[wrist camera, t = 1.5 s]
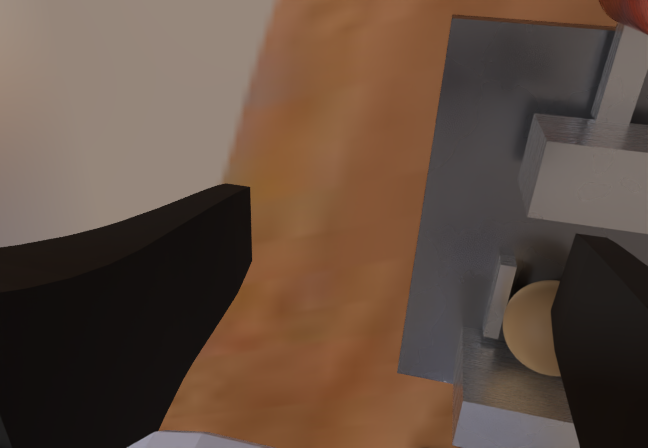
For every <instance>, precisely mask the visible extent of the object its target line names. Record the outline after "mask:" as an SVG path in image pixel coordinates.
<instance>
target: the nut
mask: <svg viewBox="0 0 648 448" xmlns="http://www.w3.org/2000/svg"><path fill="white" fill-rule="evenodd" d="M559 283H560V281H556V280H544V281H538V282H534V283H531V284H529V285H527V286H525V287H523V288H522V289H520V290H519V291H518V292H517V293H516V294H515V295H514V296H513V297H512V298H511V299H510V301H509V303H508V305H507V306H506V309H505V312H504V316H503V333H504V337H505V340H506V343H507V345H508V347H509V349H510V350H511V352H512V353H513V354H514V356H515V357H516V358H517V359H518V360H519V361H520V362H521V363H522V364H524V365H525V366H526V367H528V368H530V369H531V370H533V371H536V372H538V373H541V374H544V375H550V376H561V374H560V371H559V367H558V363H557V359H556V355H555V351H554V342H553V334H552V323H551V308H552V305H553V301H554V298H555V295H556V292H557V289H558V286H559Z"/></svg>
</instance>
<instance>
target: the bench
mask: <svg viewBox="0 0 648 448" xmlns="http://www.w3.org/2000/svg"><path fill="white" fill-rule="evenodd" d="M615 30H616V27H610V26H597V25H583V24H570V23H557V22H544V21H531V20H517V19H504V18H491V17H478V16H464V15H452V21H451V28H450V34H449V41H448V47H447V54H446V60H445V67H444V73H443V80H442V86H441V93H440V99H439V105H438V112H437V118H436V125H435V131H434V138H433V144H432V151H431V157H430V164H429V170H428V177H427V183H426V189H425V196H424V202H423V209H422V215H421V222H420V228H419V235H418V241H417V248H416V254H415V261H414V267H413V273H412V280H411V286H410V293H409V299H408V306H407V312H406V319H405V325H404V332H403V338H402V345H401V351H400V358H399V364H398V371H397V373H401V374H406V375H411V376H416V377H421V378H426V379H431V380H436V381H441V382H446V383H451V384H453V433H452V445H454V446H458V447H463V448H580V447H579V442H578V438H577V435H576V431H575V427H574V423H573V420H572V416H571V412H570V408H569V405H568V401H567V397H566V393H565V390H564V386H563V382H562V378H561V376H550V375H544V374H541V373H538V372H536V371H533V370H531V369H530V368H528V367H526V366H525V365H524V364H522V363H521V362H520V361H519V360H518V359H517V358H516V357H515V356H514V354H513V353H512V352H511V350H510V349H509V347H508V345H507V343H506V340H505V337H504V333H503V316H504V312H505V309H506V306H507V305H508V303H509V301H510V299H511V298H512V297H513V296H514V295H515V294H516V293H517V292H518V291H519V290H520V289H522V288H523V287H525V286H527V285H529V284H531V283H534V282H538V281H544V280H556V281H560V280H561V277H562V274H563V271H564V268H565V265H566V262H567V259H568V256H569V253H570V250H571V247H572V244H573V240H574V237H575V234H576V233H578V234H585V235H592V236H599V237H606V238H609V239H610V240H612V241H614V242H615V243H617V244H618V245H620V246H621V247H623V248H624V249H626V250H627V251H628V252H630V253H631V254H632V255H634V256H635V257H636V258H638V259H639V260H640V261H642V262H643V263H644V264H646V265H647V266H648V234H644V233H636V232H629V231H622V230H615V229H608V228H601V227H594V226H587V225H579V224H572V223H565V222H558V221H551V220H544V219H537V218H530V217H527V214H526V210H525V206H524V202H523V198H522V195H521V191H520V187H519V183H518V177H519V172H520V168H521V164H522V160H523V156H524V152H525V148H526V144H527V140H528V136H529V132H530V127H531V123H532V119H533V115H534V113H538V114H548V115H557V116H567V117H576V118H586V119H594V117H593V116H592V115H591V111H592V107H593V104H594V100H595V97H596V94H597V90H598V87H599V84H600V80H601V77H602V74H603V70H604V67H605V63H606V60H607V57H608V53H609V50H610V47H611V43H612V40H613V37H614V33H615ZM630 123H633V124H642V125H648V70H647V73H646V76H645V79H644V82H643V85H642V88H641V91H640V94H639V97H638V100H637V103H636V106H635V109H634V112H633V115H632V118H631V121H630Z"/></svg>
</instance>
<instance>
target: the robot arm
mask: <svg viewBox="0 0 648 448" xmlns="http://www.w3.org/2000/svg"><path fill="white" fill-rule="evenodd" d="M251 262H252V241H251V204H250V187H247V186H240V185H233V184H221V185H217V186H214V187H211V188H208V189H206V190H203V191H200V192H198V193H195V194H193V195H190V196H188V197H185V198H183V199H180V200H178V201H175V202H173V203H170V204H168V205H165V206H162V207H160V208H157V209H155V210H152V211H149V212H146V213H143V214H140V215H137V216H135V217H132V218H129V219H126V220H123V221H120V222H117V223H114V224H111V225H108V226H104V227H100V228H97V229H93V230H89V231H85V232H81V233H77V234H73V235H69V236H65V237H59V238H54V239H48V240H43V241H38V242H33V243H27V244H22V245H15V246H8V247H1V248H0V448H274V447H270V446H266V445H261V444H257V443H253V442H248V441H244V440H240V439H236V438H231V437H227V436H223V435H218V434H214V433H210V432H196V431H170V430H164V431H158V430H159V428H160V426H161V424H162V421H163V419H164V417H165V415H166V413H167V411H168V409H169V407H170V405H171V403H172V401H173V399H174V397H175V395H176V393H177V391H178V389H179V387H180V385H181V383H182V381H183V379H184V377H185V375H186V374H187V372H188V370H189V369H190V367H191V365H192V363H193V362H194V360H195V359H196V357H197V356H198V354H199V353H200V351H201V349H202V348H203V346H204V345H205V343H206V342H207V340H208V339H209V337H210V336H211V334H212V333H213V331H214V329H215V328H216V326H217V325H218V323H219V322H220V320H221V319H222V317H223V316H224V314H225V312H226V311H227V309H228V308H229V306H230V305H231V303H232V301H233V300H234V298H235V297H236V295H237V293H238V291H239V289H240V287H241V285H242V283H243V280H244V278H245V276H246V274H247V271H248V269H249V267H250V264H251ZM551 323H552V334H553V342H554V351H555V355H556V359H557V363H558V367H559V371H560V374H561V378H562V382H563V386H564V390H565V393H566V397H567V401H568V405H569V408H570V412H571V416H572V420H573V423H574V427H575V431H576V435H577V438H578V442H579V447H580V448H648V266H647V265H646V264H644V263H643V262H642V261H640V260H639V259H638V258H636V257H635V256H634V255H632V254H631V253H630V252H628V251H627V250H626V249H624V248H623V247H621V246H620V245H618V244H617V243H615V242H614V241H612V240H610V239H609V238H606V237H599V236H592V235H585V234H578V233H576V234H575V237H574V240H573V244H572V247H571V250H570V253H569V256H568V259H567V262H566V265H565V268H564V271H563V274H562V277H561V280H560V283H559V286H558V289H557V292H556V295H555V298H554V301H553V305H552V308H551Z"/></svg>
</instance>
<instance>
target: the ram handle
mask: <svg viewBox="0 0 648 448" xmlns="http://www.w3.org/2000/svg"><path fill="white" fill-rule="evenodd" d="M599 2H600V5H601V6H602V8H603V10H604V11H605V12H606V14H607V15H608V16H609V17H610V18H612V19H613V20H615V21H617V22H618V23H617V26H616V30H615V33H614V37H613V40H612V43H611V47H610V50H609V53H608V57H607V60H606V63H605V67H604V70H603V74H602V77H601V80H600V84H599V87H598V90H597V94H596V97H595V100H594V104H593V107H592V111H591V115H592V116H593V117H594V119H586V118H576V117H567V116H557V115H548V114H538V113H534V115H533V119H532V123H531V127H530V132H529V136H528V140H527V144H526V148H525V152H524V156H523V160H522V164H521V168H520V172H519V177H518V183H519V187H520V191H521V195H522V198H523V202H524V206H525V210H526V214H527V217H530V218H537V219H544V220H551V221H558V222H565V223H572V224H579V225H587V226H594V227H601V228H608V229H615V230H622V231H629V232H636V233H644V234H648V125H642V124H633V123H630V121H631V118H632V115H633V112H634V109H635V106H636V103H637V100H638V97H639V94H640V91H641V88H642V85H643V82H644V79H645V76H646V73H647V70H648V0H599Z"/></svg>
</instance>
